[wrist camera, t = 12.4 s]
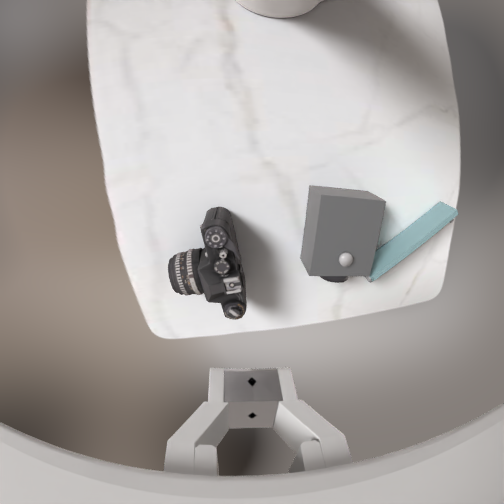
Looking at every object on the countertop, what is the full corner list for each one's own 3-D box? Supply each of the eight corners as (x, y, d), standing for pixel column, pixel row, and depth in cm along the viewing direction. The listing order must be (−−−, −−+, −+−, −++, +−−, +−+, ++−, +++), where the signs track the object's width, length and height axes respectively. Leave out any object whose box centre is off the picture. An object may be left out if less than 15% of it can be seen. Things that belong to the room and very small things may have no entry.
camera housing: (309, 185, 42) (322, 196, 35) (368, 191, 43) (388, 202, 36) (299, 265, 47) (309, 287, 41) (354, 266, 48) (369, 286, 42)
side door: (440, 201, 43) (456, 209, 39) (442, 209, 44) (459, 217, 40) (356, 265, 47) (367, 279, 43) (360, 272, 48) (371, 286, 44)
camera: (162, 219, 42) (145, 244, 33) (231, 202, 42) (231, 224, 33) (189, 296, 48) (181, 333, 39) (250, 284, 48) (255, 320, 39)
